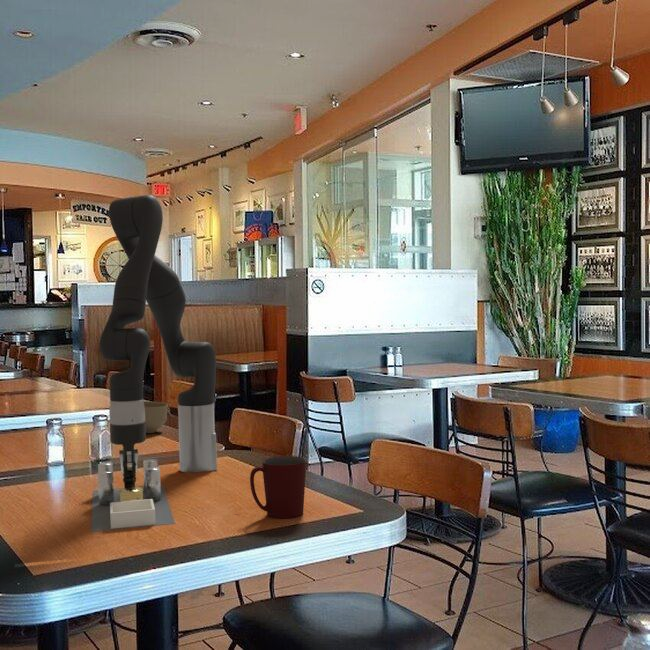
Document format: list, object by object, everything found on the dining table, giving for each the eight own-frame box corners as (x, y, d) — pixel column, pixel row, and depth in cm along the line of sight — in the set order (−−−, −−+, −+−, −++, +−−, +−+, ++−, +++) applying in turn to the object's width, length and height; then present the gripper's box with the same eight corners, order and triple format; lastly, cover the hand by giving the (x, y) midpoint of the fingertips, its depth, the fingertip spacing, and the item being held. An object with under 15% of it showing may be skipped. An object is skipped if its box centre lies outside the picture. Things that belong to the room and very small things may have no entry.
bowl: (164, 435, 262) (163, 405, 262) (125, 436, 262) (124, 405, 262) (172, 429, 275) (171, 399, 274) (135, 429, 275) (134, 400, 274)
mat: (163, 486, 192) (163, 484, 192) (175, 526, 159) (175, 523, 159) (93, 492, 188) (93, 490, 188) (90, 534, 155) (90, 531, 155)
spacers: (157, 488, 188) (157, 458, 188) (161, 501, 177) (160, 469, 176) (99, 493, 185) (98, 463, 185) (98, 506, 173) (97, 474, 173)
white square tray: (152, 513, 167) (152, 498, 167) (155, 524, 159) (155, 509, 159) (110, 517, 165) (110, 502, 165) (110, 528, 157) (110, 513, 157)
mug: (261, 524, 159) (260, 469, 158) (242, 514, 166) (241, 461, 166) (314, 515, 165) (313, 461, 164) (294, 505, 172) (292, 454, 172)
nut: (143, 504, 174) (142, 486, 174) (143, 510, 169) (143, 491, 169) (120, 506, 173) (119, 488, 173) (120, 512, 168) (119, 493, 168)
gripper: (146, 424, 169) (149, 505, 170) (143, 414, 182) (146, 490, 183) (109, 426, 167) (112, 509, 168) (109, 416, 180) (112, 493, 181)
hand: (130, 499), depth 176 cm, fingers closed
